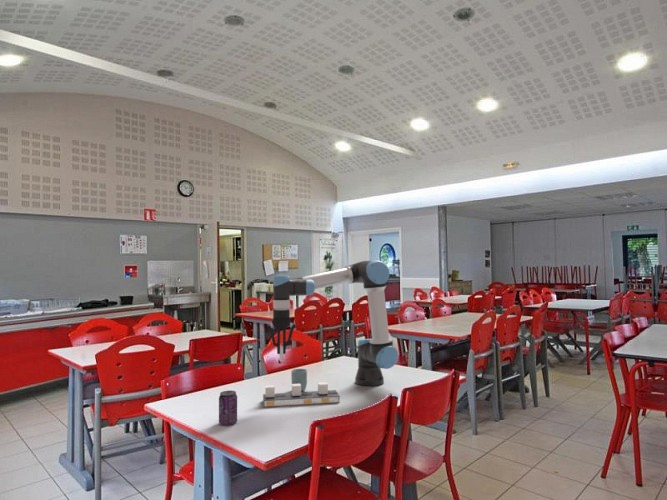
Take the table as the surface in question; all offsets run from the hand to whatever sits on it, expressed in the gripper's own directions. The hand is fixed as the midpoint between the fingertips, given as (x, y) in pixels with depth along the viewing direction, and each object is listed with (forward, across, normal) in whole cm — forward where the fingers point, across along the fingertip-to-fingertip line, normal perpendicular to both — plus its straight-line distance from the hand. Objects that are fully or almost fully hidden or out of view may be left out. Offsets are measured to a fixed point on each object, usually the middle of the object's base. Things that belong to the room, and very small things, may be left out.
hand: (281, 361), depth 204 cm
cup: (+19, -10, -19) cm, 29 cm away
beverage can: (+19, +22, +23) cm, 37 cm away
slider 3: (+15, -19, 0) cm, 24 cm away
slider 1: (+15, +5, 0) cm, 16 cm away
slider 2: (+15, -7, 0) cm, 17 cm away
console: (+19, -9, 0) cm, 21 cm away
